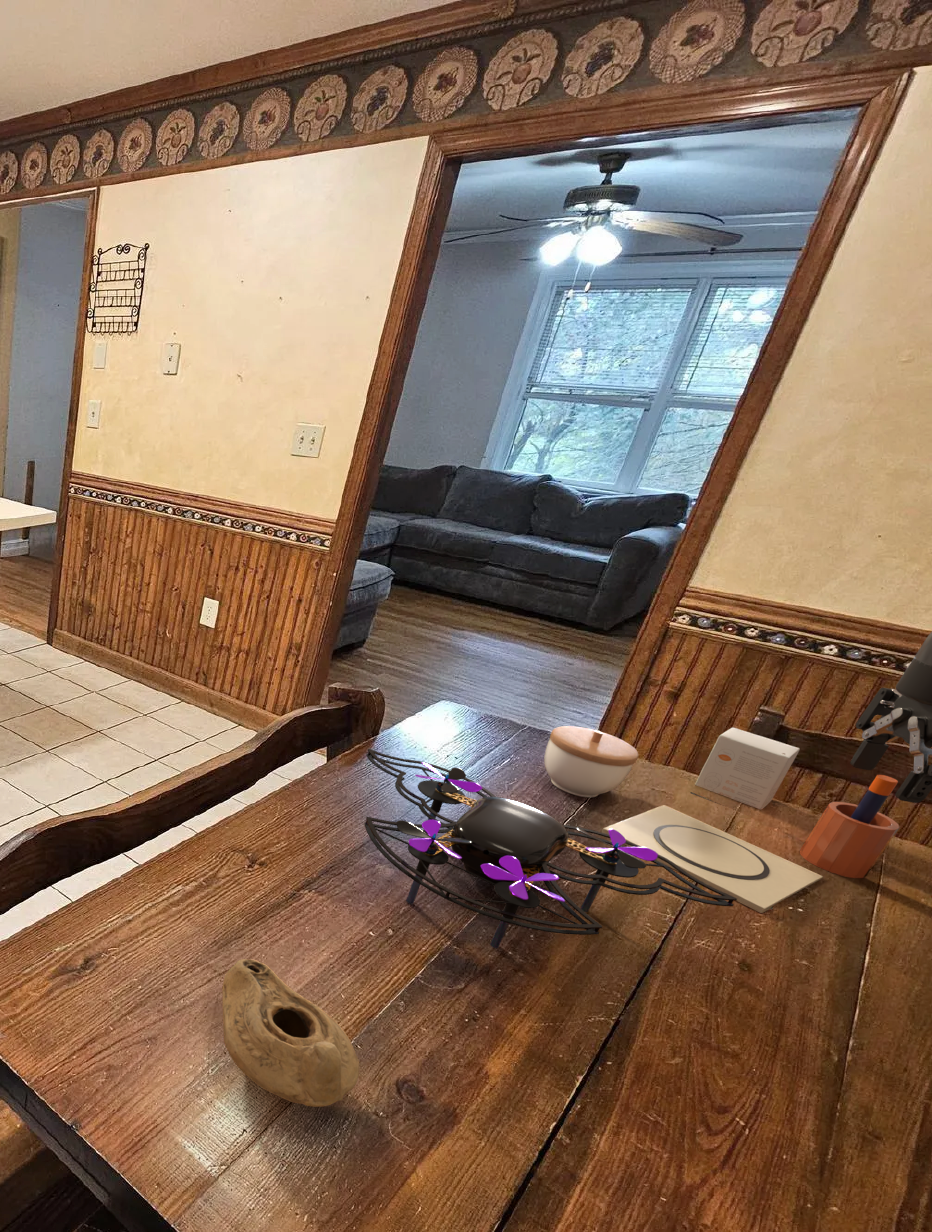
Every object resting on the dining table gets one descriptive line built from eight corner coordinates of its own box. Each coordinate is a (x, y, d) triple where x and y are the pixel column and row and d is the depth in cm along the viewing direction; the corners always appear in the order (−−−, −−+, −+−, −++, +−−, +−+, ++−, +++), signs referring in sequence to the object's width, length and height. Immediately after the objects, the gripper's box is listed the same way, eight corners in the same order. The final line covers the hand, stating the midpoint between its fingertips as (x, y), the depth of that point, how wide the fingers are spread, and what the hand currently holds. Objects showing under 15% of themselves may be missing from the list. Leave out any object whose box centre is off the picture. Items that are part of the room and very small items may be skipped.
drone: (750, 873, 84) (698, 995, 67) (709, 942, 89) (649, 1073, 72) (382, 731, 111) (278, 793, 94) (364, 789, 115) (261, 858, 98)
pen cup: (810, 847, 108) (841, 797, 104) (872, 874, 103) (907, 823, 99) (789, 857, 105) (820, 807, 102) (852, 886, 100) (887, 834, 97)
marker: (826, 857, 105) (880, 773, 99) (845, 865, 103) (901, 780, 98) (820, 860, 104) (874, 776, 98) (838, 868, 103) (894, 783, 97)
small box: (766, 810, 116) (802, 748, 112) (754, 821, 113) (791, 757, 109) (700, 785, 122) (732, 725, 117) (687, 795, 119) (719, 734, 114)
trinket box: (581, 769, 125) (605, 717, 120) (635, 806, 115) (663, 751, 111) (517, 768, 124) (539, 715, 120) (566, 805, 114) (591, 749, 110)
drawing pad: (661, 809, 115) (664, 803, 114) (820, 881, 101) (824, 875, 100) (600, 832, 108) (603, 826, 108) (761, 913, 94) (765, 907, 93)
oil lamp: (260, 983, 79) (277, 921, 75) (380, 1107, 67) (407, 1040, 63) (170, 1013, 75) (184, 949, 71) (280, 1151, 63) (304, 1082, 59)
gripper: (1057, 694, 84) (963, 820, 91) (956, 650, 96) (881, 763, 104) (968, 681, 86) (883, 805, 93) (881, 639, 98) (812, 751, 105)
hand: (882, 783), depth 98 cm, fingers open, 8 cm apart
